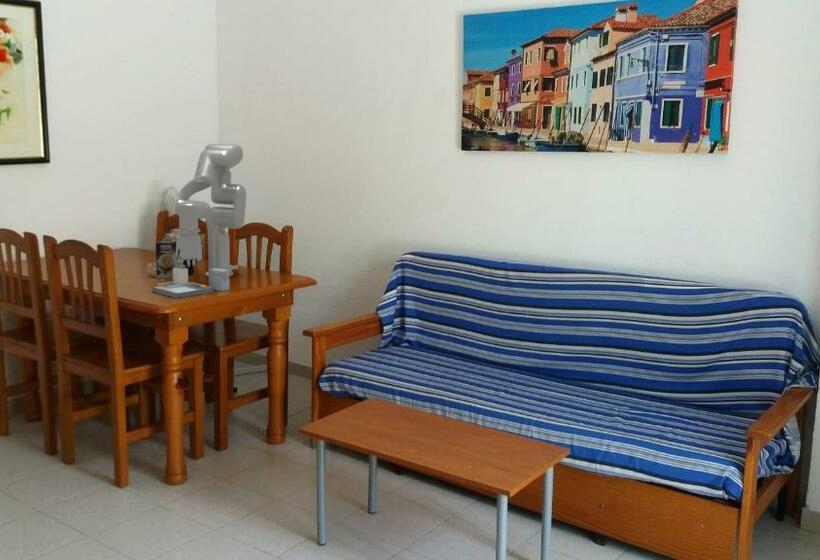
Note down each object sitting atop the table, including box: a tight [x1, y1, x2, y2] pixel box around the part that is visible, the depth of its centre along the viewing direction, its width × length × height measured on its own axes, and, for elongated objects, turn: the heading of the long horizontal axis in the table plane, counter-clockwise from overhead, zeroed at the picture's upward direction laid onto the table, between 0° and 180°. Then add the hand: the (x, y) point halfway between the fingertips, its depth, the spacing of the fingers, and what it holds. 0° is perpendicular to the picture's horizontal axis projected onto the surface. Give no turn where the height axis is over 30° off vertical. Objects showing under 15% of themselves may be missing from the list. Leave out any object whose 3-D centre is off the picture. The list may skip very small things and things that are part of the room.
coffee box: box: [155, 240, 177, 279], centre depth 366 cm, size 9×6×16 cm
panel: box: [151, 281, 214, 299], centre depth 335 cm, size 18×17×3 cm
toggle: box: [172, 266, 189, 285], centre depth 338 cm, size 4×5×8 cm
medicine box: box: [208, 268, 230, 292], centre depth 342 cm, size 8×4×9 cm, turn 59°
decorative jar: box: [161, 228, 186, 268], centre depth 392 cm, size 12×12×18 cm
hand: (189, 275), depth 341 cm, fingers closed
